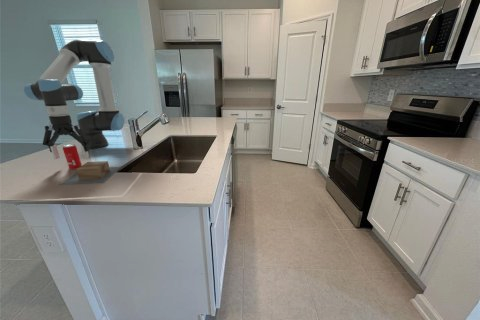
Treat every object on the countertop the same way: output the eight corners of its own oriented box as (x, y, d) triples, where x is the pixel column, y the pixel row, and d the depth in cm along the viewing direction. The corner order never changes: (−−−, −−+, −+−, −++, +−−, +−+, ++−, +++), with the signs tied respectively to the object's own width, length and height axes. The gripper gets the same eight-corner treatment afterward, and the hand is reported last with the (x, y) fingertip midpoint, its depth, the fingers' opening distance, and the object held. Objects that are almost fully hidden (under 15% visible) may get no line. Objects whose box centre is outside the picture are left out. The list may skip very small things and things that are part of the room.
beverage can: (67, 168, 101) (60, 146, 97) (78, 165, 105) (72, 143, 101) (72, 170, 99) (65, 147, 95) (84, 167, 103) (77, 145, 99)
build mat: (84, 169, 101) (83, 168, 101) (121, 167, 103) (121, 166, 103) (58, 186, 84) (58, 185, 84) (104, 184, 86) (103, 183, 86)
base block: (90, 171, 97) (87, 161, 95) (110, 170, 98) (107, 161, 96) (78, 179, 89) (75, 169, 87) (100, 178, 90) (97, 168, 88)
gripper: (21, 116, 87) (38, 161, 95) (83, 116, 90) (94, 159, 98) (36, 114, 94) (50, 156, 102) (92, 113, 97) (102, 154, 105)
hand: (72, 158), depth 100 cm, fingers open, 13 cm apart
